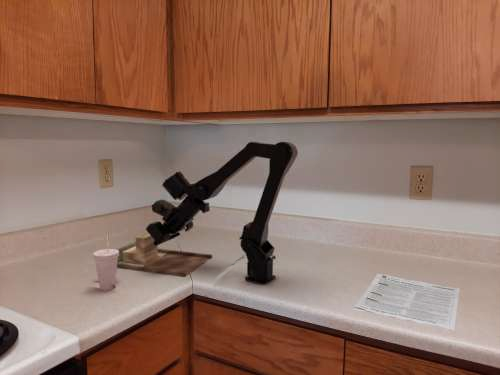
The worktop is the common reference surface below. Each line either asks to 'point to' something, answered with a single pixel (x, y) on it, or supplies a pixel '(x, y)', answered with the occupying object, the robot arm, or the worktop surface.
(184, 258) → the brown wooden tray
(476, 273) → the worktop surface
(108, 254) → the smoothie
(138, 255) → the step block
